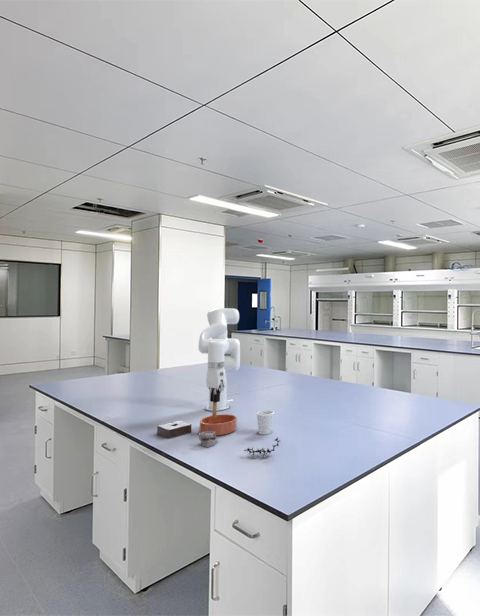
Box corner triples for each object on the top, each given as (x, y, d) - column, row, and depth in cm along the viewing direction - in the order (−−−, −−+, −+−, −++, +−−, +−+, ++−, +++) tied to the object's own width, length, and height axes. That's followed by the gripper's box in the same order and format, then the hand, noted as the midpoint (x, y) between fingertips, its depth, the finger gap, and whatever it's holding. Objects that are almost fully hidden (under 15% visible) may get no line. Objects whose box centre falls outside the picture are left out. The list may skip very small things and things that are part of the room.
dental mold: (205, 440, 174) (205, 429, 174) (219, 441, 174) (219, 430, 174) (195, 446, 166) (195, 435, 166) (210, 447, 166) (210, 436, 166)
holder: (179, 428, 189) (179, 420, 189) (191, 432, 184) (191, 424, 184) (157, 434, 180) (157, 425, 180) (168, 438, 175) (168, 429, 175)
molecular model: (245, 453, 159) (246, 434, 159) (281, 453, 161) (282, 434, 161) (241, 460, 153) (241, 440, 153) (278, 459, 155) (279, 439, 155)
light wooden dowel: (214, 417, 190) (215, 389, 190) (217, 417, 189) (218, 390, 189) (211, 418, 189) (212, 390, 189) (213, 418, 188) (214, 391, 188)
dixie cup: (256, 436, 181) (257, 415, 181) (254, 430, 189) (255, 411, 189) (274, 433, 185) (275, 413, 185) (272, 428, 193) (272, 409, 193)
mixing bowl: (223, 423, 198) (223, 412, 198) (243, 429, 190) (243, 418, 190) (192, 432, 184) (192, 420, 184) (212, 439, 176) (212, 426, 176)
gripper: (232, 366, 188) (231, 402, 188) (213, 362, 196) (212, 397, 196) (218, 368, 182) (217, 405, 182) (199, 364, 190) (198, 400, 190)
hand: (215, 401), depth 189 cm, fingers closed on light wooden dowel, 1 cm apart
